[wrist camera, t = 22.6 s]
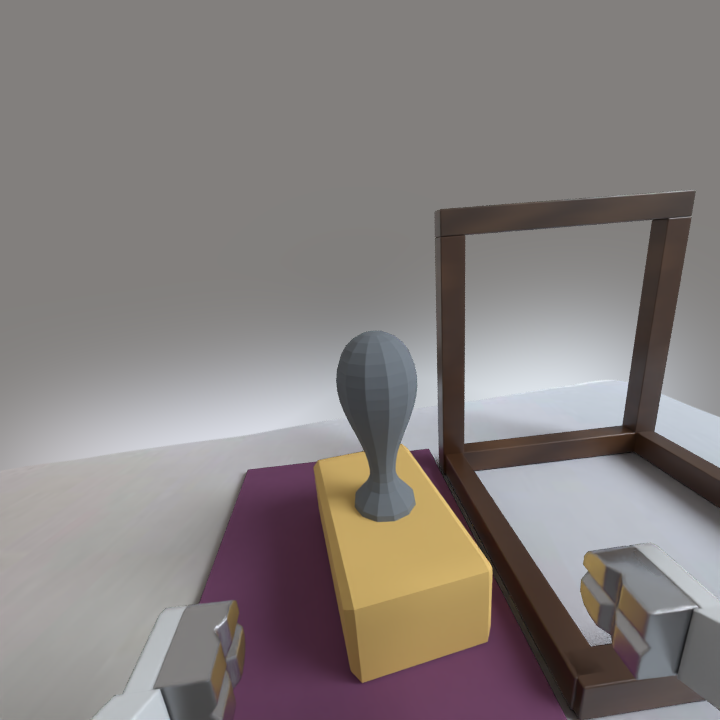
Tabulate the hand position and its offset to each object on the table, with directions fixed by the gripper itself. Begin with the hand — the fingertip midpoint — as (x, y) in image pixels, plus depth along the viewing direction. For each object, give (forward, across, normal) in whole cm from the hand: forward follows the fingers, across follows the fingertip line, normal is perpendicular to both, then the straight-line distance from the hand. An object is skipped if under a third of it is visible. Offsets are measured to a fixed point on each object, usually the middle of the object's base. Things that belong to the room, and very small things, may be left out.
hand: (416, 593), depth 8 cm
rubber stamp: (+8, 0, +8) cm, 11 cm away
